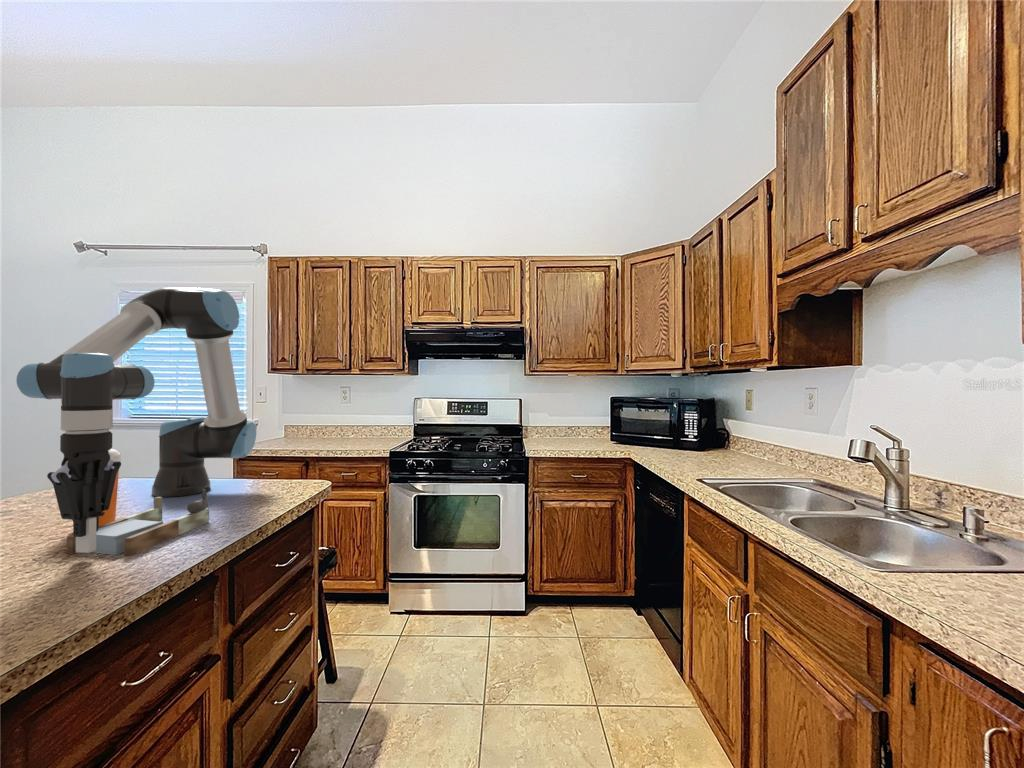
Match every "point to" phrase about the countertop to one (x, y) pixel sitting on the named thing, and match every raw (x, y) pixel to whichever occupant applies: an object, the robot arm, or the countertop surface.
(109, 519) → the shaker bottle
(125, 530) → the pale blue flat block
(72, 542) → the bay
